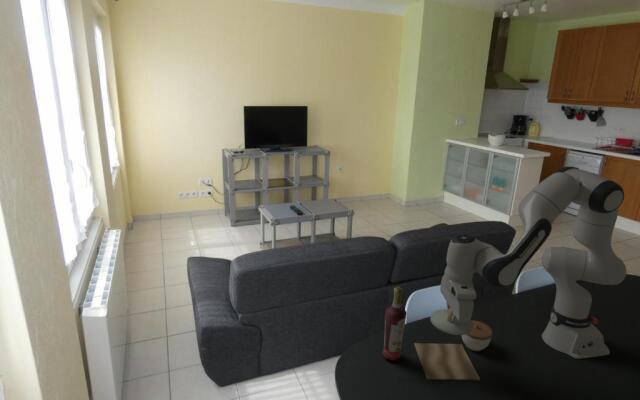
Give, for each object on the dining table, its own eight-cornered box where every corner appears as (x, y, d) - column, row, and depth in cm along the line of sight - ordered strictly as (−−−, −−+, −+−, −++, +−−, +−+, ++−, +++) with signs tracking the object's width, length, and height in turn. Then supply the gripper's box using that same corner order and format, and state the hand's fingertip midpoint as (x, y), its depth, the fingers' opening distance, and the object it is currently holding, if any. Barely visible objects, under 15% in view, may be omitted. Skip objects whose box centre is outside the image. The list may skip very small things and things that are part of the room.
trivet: (461, 345, 146) (461, 344, 146) (480, 380, 129) (480, 379, 129) (414, 344, 146) (414, 343, 146) (427, 379, 129) (427, 378, 128)
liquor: (390, 366, 134) (397, 296, 126) (377, 354, 140) (383, 286, 132) (406, 358, 138) (413, 290, 130) (392, 347, 144) (398, 281, 136)
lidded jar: (491, 357, 140) (496, 335, 137) (461, 352, 142) (464, 331, 139) (485, 339, 150) (489, 318, 147) (457, 335, 152) (460, 314, 149)
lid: (463, 311, 139) (465, 300, 138) (479, 335, 125) (481, 323, 124) (425, 310, 139) (427, 299, 137) (437, 334, 125) (439, 322, 124)
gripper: (438, 267, 138) (433, 301, 141) (458, 297, 118) (452, 335, 122) (455, 267, 138) (450, 301, 142) (478, 297, 118) (472, 336, 122)
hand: (451, 317), depth 132 cm, fingers closed on lid, 3 cm apart
